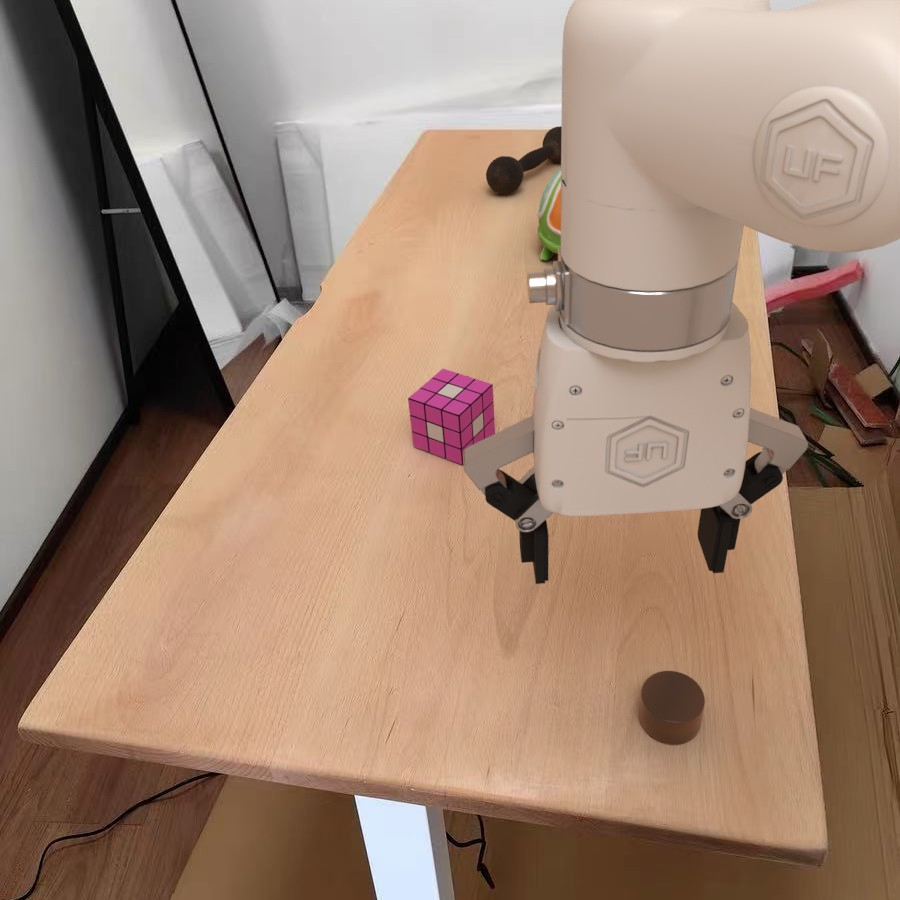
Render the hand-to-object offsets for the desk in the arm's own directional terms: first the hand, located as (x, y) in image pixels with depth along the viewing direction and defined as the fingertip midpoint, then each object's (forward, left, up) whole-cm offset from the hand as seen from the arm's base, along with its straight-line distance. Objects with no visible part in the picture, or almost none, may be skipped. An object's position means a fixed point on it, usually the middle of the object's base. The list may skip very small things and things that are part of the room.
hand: (624, 560), depth 49 cm
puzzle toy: (+26, -20, -15) cm, 36 cm away
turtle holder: (+33, -63, -15) cm, 72 cm away
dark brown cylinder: (-3, -2, -15) cm, 15 cm away
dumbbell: (+51, -81, -15) cm, 97 cm away
